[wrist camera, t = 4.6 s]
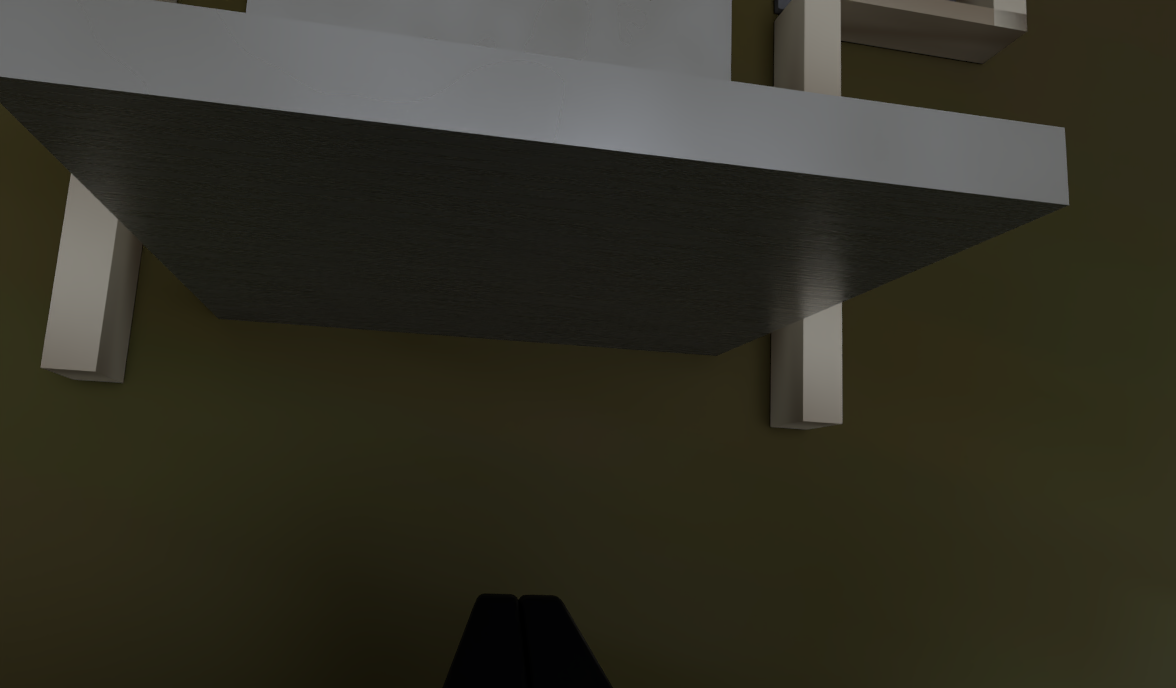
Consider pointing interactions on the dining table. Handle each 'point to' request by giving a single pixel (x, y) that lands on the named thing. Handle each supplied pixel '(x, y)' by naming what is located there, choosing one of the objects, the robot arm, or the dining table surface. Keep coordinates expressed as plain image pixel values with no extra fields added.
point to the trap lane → (801, 62)
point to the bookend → (503, 165)
